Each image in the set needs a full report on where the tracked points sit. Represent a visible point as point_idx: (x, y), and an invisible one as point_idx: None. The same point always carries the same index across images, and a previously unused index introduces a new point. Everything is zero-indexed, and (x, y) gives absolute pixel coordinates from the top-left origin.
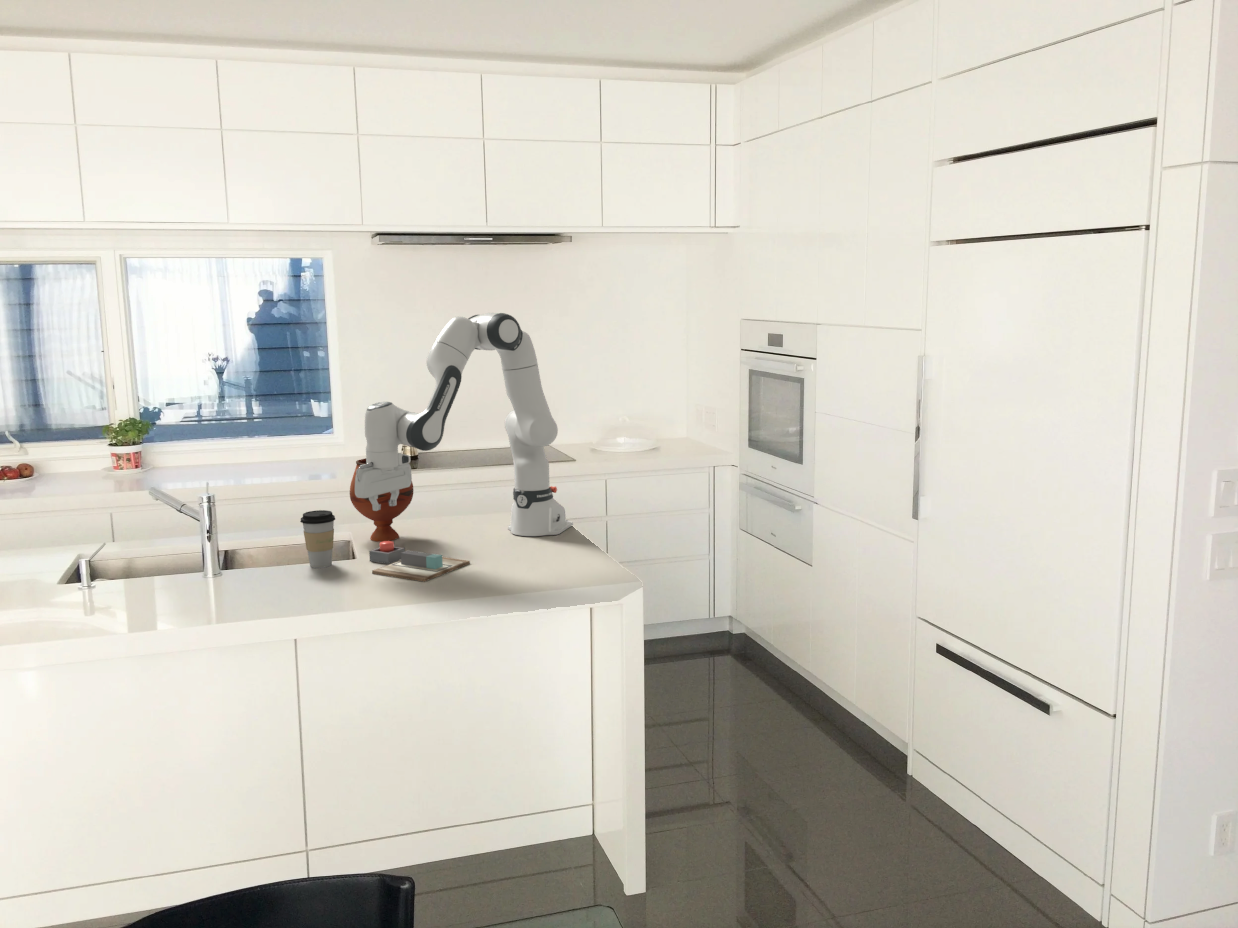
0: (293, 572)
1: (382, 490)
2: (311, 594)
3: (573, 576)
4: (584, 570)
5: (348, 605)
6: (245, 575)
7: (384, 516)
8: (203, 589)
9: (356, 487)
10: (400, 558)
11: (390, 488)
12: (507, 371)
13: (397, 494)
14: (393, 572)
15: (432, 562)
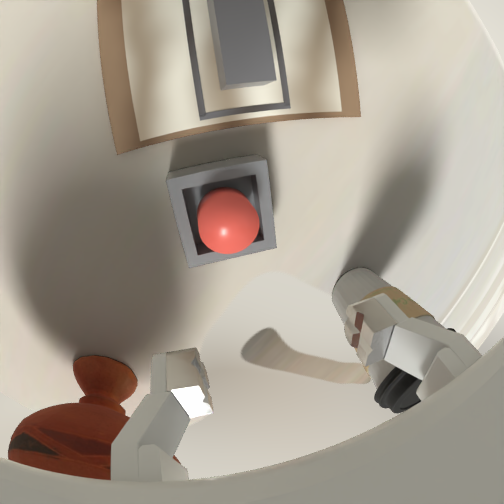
0: (406, 278)
1: (460, 417)
2: (476, 130)
3: None
4: None
5: (474, 36)
6: (428, 311)
7: (110, 411)
8: (473, 284)
9: None
10: (193, 167)
11: (322, 495)
12: None
13: (135, 436)
14: (341, 45)
15: None
